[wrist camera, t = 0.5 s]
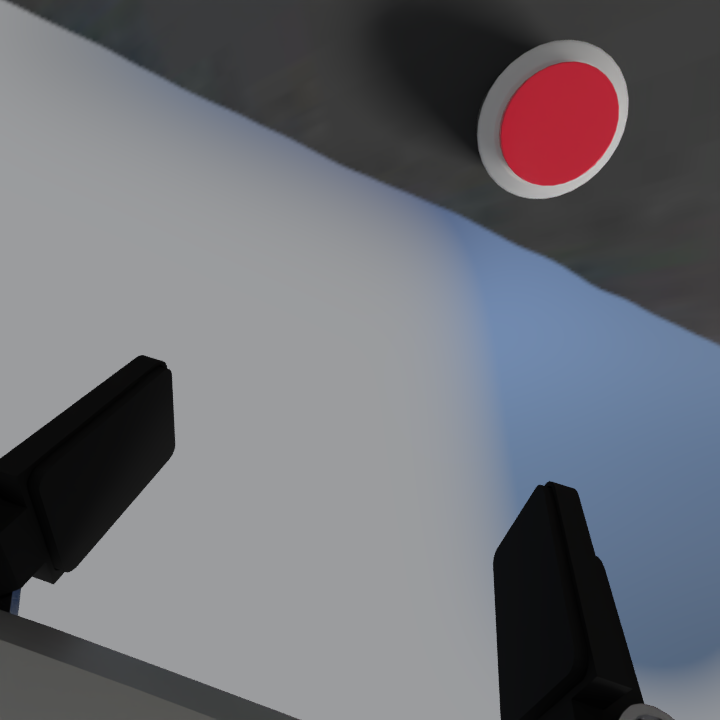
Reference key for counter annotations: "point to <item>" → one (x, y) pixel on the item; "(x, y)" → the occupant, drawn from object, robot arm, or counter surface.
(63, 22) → the counter surface
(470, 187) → the counter surface
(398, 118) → the counter surface
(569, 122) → the pill bottle
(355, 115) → the counter surface
